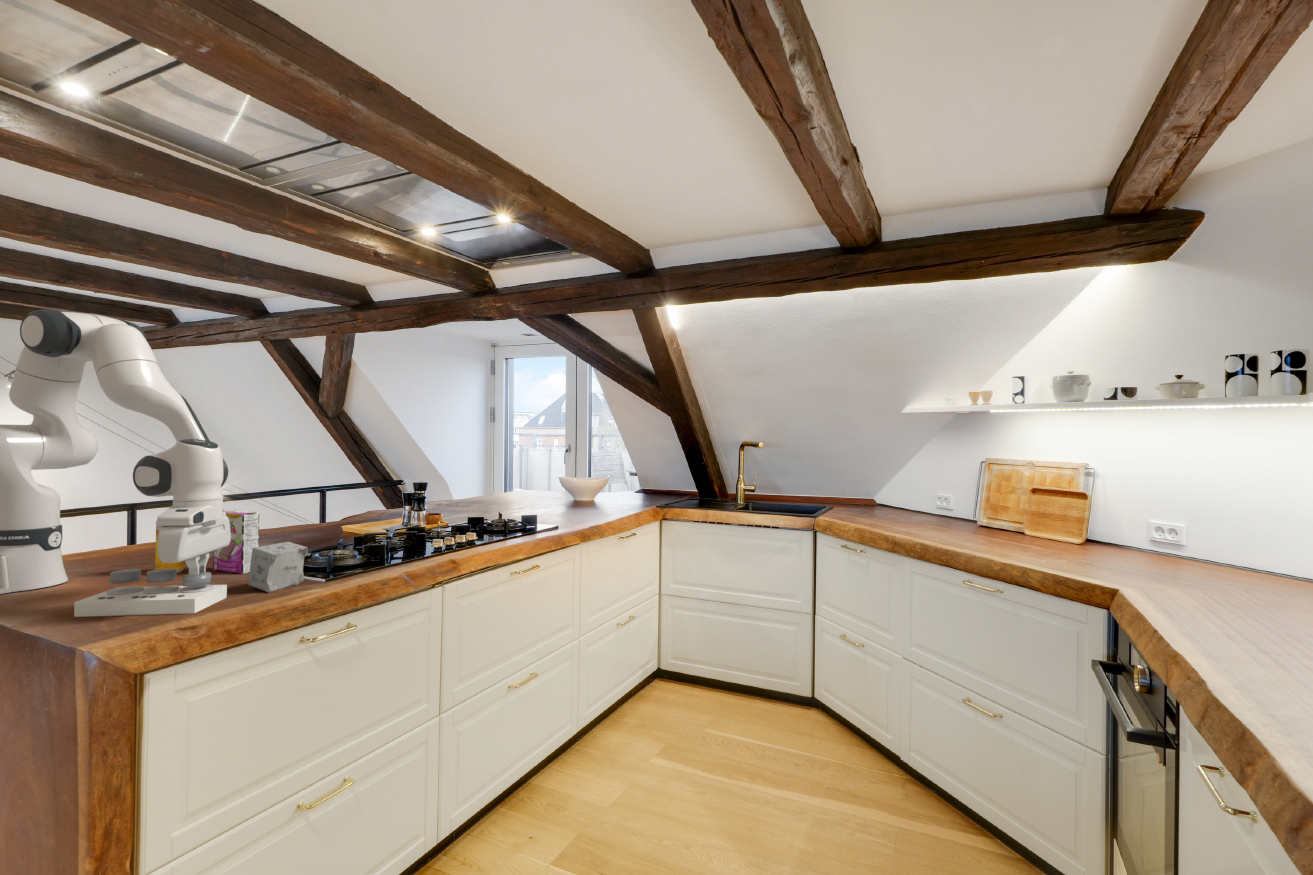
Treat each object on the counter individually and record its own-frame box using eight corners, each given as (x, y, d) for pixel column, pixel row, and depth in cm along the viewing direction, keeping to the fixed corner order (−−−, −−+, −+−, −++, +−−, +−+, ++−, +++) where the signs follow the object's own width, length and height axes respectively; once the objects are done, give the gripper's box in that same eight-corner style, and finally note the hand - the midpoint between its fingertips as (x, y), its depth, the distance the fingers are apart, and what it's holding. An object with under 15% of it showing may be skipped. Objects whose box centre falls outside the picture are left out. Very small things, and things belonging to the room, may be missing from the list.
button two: (103, 583, 125) (103, 574, 125) (121, 578, 130) (121, 569, 130) (130, 583, 126) (130, 573, 126) (146, 577, 131) (146, 568, 131)
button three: (140, 583, 126) (141, 573, 126) (156, 577, 131) (156, 568, 131) (166, 582, 127) (167, 573, 127) (181, 576, 132) (181, 568, 132)
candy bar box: (211, 571, 159) (212, 511, 159) (229, 567, 164) (230, 509, 164) (242, 574, 156) (243, 513, 156) (259, 570, 161) (260, 511, 161)
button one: (177, 586, 127) (177, 577, 127) (191, 581, 132) (191, 572, 132) (202, 586, 128) (202, 576, 128) (215, 580, 133) (216, 571, 133)
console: (74, 616, 119) (74, 600, 119) (118, 600, 131) (118, 585, 131) (194, 613, 123) (194, 597, 123) (226, 597, 135) (226, 582, 135)
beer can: (167, 575, 154) (168, 518, 154) (149, 573, 155) (150, 517, 155) (190, 570, 160) (191, 515, 160) (172, 568, 161) (173, 514, 161)
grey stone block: (271, 593, 139) (272, 550, 139) (246, 590, 141) (247, 547, 141) (308, 584, 148) (309, 543, 148) (284, 580, 151) (285, 540, 151)
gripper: (210, 506, 140) (209, 564, 140) (151, 518, 119) (150, 586, 120) (239, 506, 141) (238, 564, 141) (185, 518, 121) (184, 585, 121)
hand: (197, 574), depth 130 cm, fingers closed, pressing on button one
